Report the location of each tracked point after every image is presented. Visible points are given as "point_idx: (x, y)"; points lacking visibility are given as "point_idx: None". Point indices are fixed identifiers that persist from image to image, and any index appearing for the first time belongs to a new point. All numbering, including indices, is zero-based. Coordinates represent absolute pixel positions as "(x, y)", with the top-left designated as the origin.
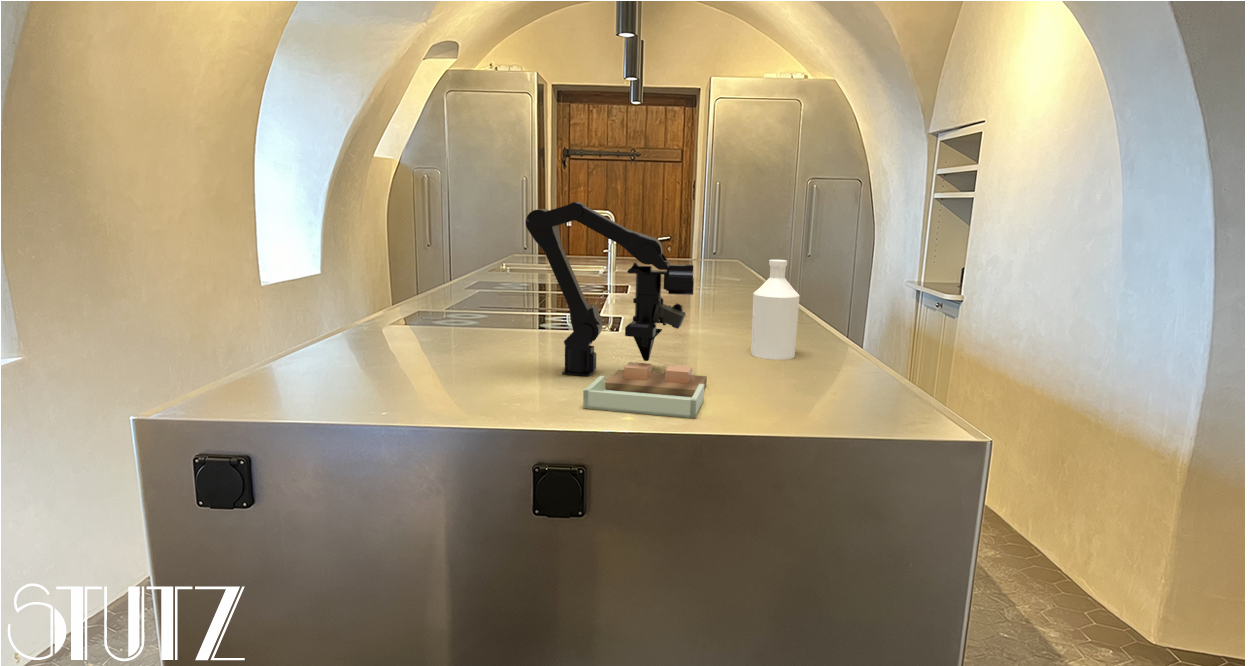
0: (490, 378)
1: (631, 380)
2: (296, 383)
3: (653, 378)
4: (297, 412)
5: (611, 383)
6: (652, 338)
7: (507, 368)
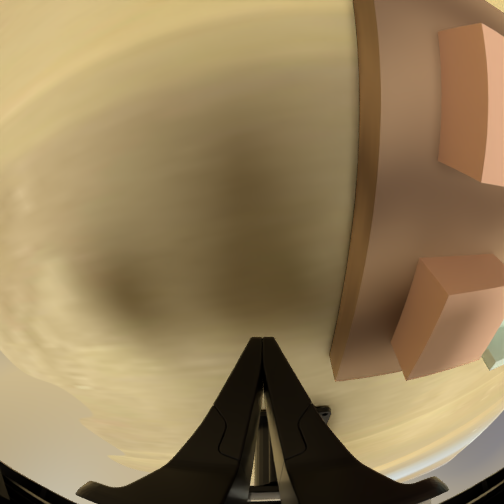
0: None
1: None
2: None
3: (474, 233)
4: (453, 451)
5: None
6: (372, 473)
7: None
